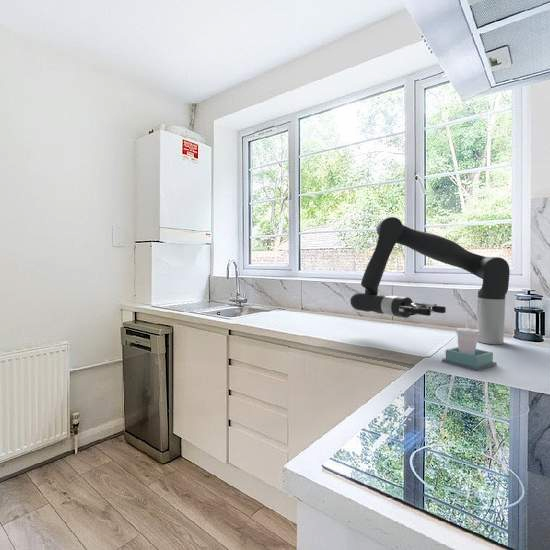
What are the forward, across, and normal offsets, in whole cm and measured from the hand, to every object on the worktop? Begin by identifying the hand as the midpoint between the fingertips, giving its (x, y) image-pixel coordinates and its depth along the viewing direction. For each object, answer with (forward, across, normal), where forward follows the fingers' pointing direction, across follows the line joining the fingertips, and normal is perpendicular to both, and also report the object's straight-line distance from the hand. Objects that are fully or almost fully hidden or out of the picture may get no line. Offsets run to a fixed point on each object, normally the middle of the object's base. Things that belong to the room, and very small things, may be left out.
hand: (437, 311), depth 116 cm
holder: (+11, -1, +15) cm, 18 cm away
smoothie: (+10, -2, +14) cm, 18 cm away
